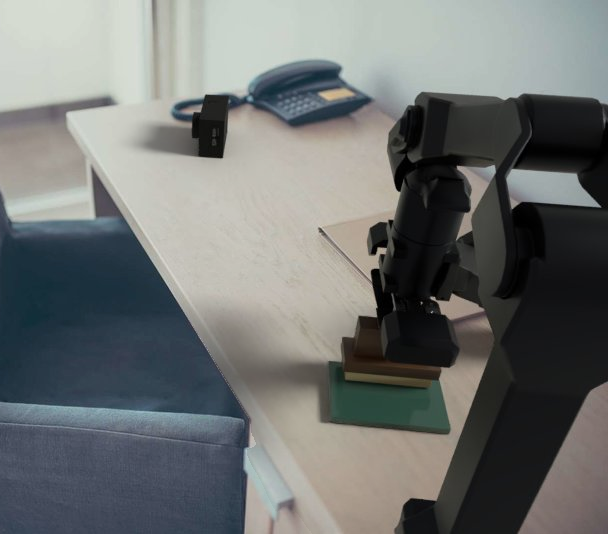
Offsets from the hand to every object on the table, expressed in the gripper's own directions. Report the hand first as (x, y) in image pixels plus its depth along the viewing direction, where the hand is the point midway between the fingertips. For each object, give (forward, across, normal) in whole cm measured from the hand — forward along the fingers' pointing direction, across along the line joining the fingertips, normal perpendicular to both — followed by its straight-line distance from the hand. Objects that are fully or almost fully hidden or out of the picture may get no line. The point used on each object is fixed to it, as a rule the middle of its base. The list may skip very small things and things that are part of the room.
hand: (390, 348), depth 68 cm
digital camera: (+5, +52, +25) cm, 58 cm away
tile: (+5, -3, 0) cm, 5 cm away
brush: (+4, 0, 0) cm, 4 cm away
